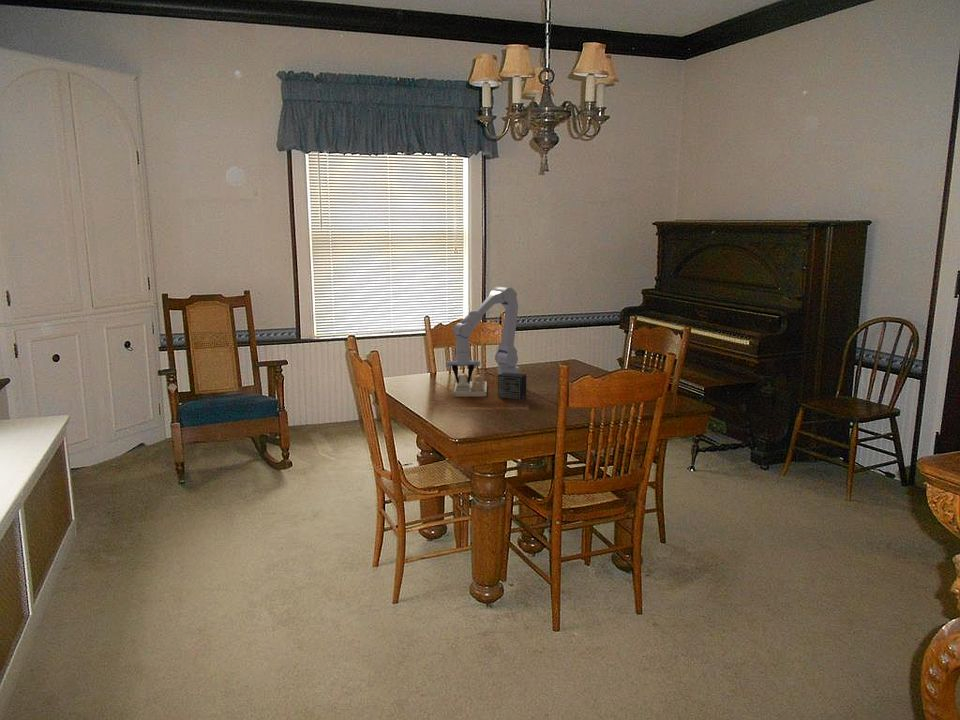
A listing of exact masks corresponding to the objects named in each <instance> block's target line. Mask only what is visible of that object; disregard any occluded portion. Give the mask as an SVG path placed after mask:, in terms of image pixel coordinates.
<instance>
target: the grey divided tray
mask: <svg viewBox="0 0 960 720" xmlns="http://www.w3.org/2000/svg"><path fill="white" fill-rule="evenodd" d="M487 382H488V381H486V380H485V381H484V380H483V392H473V384H474V380H473V381H471V380H470V383H468V386H467V387H459V386H458V383H457V381H456V380H455V385H454V388H453V397H487V389H488V387H487V386H488V383H487Z"/></svg>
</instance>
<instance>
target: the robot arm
mask: <svg viewBox="0 0 960 720" xmlns="http://www.w3.org/2000/svg"><path fill="white" fill-rule="evenodd" d="M495 304H496V305H497V304H501V306H502V307H503V308H504V309H505V310H504V317H503V327H502V336H501V343H500V345H499V346H498V347H497V351H496V353H495V355H494V356H495V357H494V360H495V362H496V363H497V366H498V369H497V370H498V371H497V372H498V374H497V376H498V375H499V374H501V373H504V372H505V373H517V374H520V367H519V366H517V364H518V362H519V358H518V350H517V348H516V347H515V339H516V338H515V337H516V328H517V320H518V314H519V313H518V312H519V303H518V293H517V292H516V291H515V289H514V288H513V287H504V286H499V285H497V286H495V287H494V288H493V289H492V290H490V292H489V295H488V296H487V297H486V298H485V299H484V301H483V302H482V303H481V304H480V305H479V306H478V307H477V309H473V310H469V311H468V314H467V315H465V317H464V318H462V319H461V320H460V322H459V323H456V324H455V325H454V327H453V329H452V333H453V335H454V336H455V360H449V361H447V360H446V361H445V367H451V370H452V371H453V375H454V377H455V382H456V381H457V383H458V377H459V374H458V373H459V372H458V370H459V367H467V374H468V375H467V376H468V383H470V381H471V376H472V375H473V372H474V369H475V367H480V366H481V361H480V360H471V358H470V355H471V354H470V336H472V334H473V330H474V328H475V327H477V326H478V324H480V322H481V321H482V320H483V315H485V313H487V312H488V311H489V310H490V309H492V307H493V306H494V305H495Z"/></svg>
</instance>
